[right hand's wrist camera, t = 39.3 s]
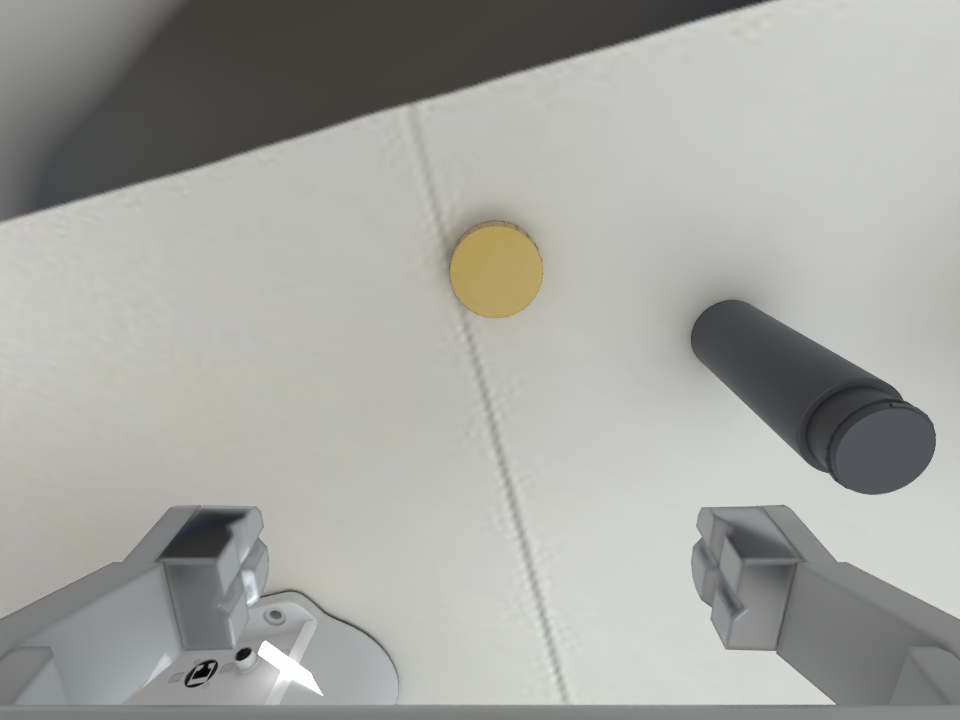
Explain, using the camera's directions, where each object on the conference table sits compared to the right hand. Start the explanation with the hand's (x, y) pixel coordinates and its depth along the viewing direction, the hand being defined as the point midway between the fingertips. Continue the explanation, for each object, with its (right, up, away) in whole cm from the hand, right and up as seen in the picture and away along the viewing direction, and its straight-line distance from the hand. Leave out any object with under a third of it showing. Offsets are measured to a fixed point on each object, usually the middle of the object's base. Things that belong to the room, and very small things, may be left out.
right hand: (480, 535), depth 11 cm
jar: (+16, +5, +26) cm, 31 cm away
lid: (+1, +8, +23) cm, 24 cm away
